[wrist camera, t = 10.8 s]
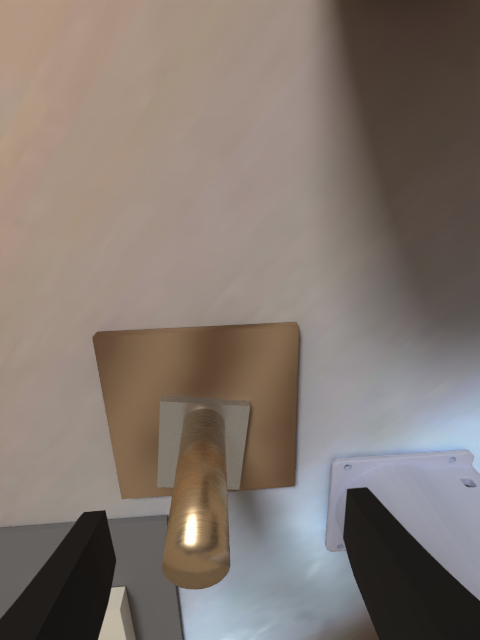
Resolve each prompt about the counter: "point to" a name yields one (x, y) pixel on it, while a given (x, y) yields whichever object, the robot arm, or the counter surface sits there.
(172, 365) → the board
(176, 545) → the stamp with brass handle
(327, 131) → the counter surface
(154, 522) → the mat
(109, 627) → the tile
